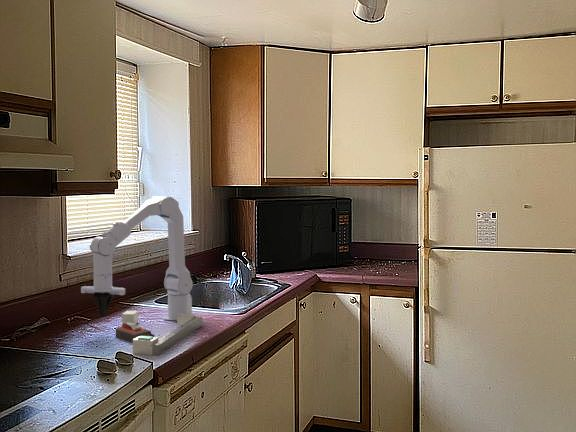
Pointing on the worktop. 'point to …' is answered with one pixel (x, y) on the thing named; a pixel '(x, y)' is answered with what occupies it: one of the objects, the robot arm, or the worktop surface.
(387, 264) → the worktop surface
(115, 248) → the robot arm
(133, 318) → the module
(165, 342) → the off-white long bar
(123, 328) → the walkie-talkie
